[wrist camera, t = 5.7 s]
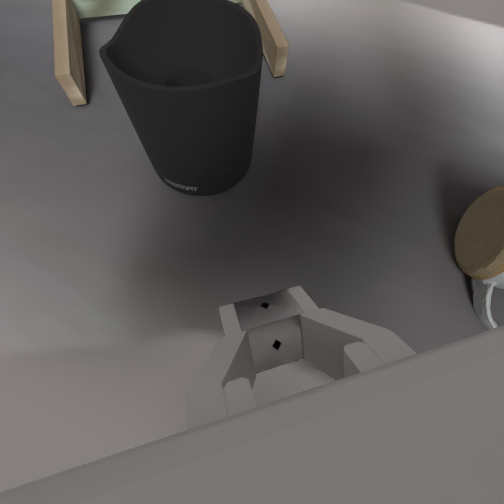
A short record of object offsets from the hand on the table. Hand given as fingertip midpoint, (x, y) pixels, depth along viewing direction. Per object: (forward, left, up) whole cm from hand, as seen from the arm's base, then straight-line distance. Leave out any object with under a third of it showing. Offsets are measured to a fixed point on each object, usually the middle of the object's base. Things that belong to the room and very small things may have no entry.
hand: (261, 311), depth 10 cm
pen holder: (0, -16, -11) cm, 19 cm away
